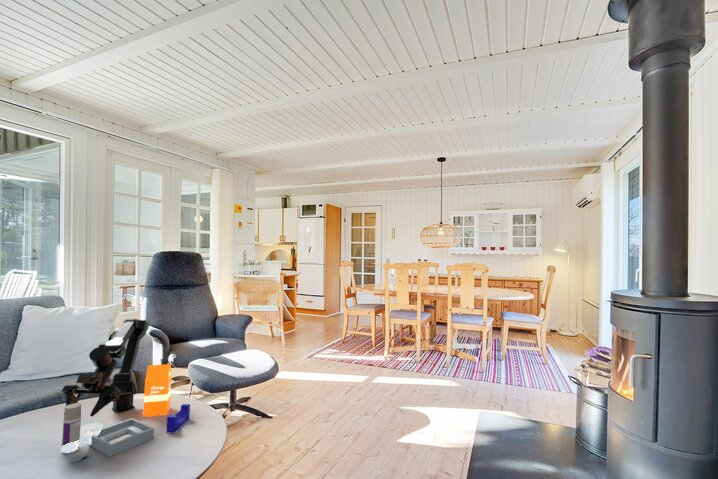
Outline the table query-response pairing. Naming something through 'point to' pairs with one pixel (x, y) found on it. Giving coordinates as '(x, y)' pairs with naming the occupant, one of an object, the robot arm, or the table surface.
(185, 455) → the table surface
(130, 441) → the walled box
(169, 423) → the cable clip
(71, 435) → the container
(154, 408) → the orange juice
